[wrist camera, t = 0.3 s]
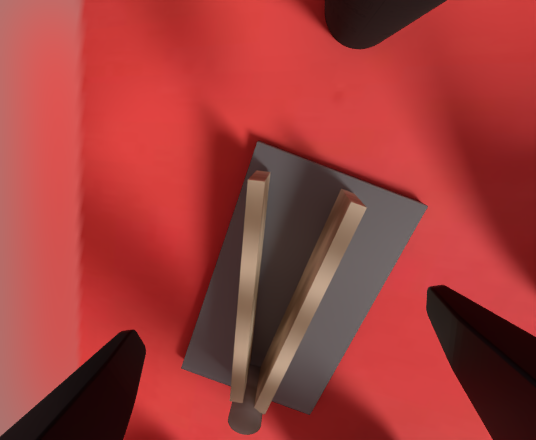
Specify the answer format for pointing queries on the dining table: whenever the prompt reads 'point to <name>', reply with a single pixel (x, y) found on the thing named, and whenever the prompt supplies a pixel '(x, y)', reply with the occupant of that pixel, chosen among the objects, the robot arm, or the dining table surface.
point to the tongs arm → (249, 280)
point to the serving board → (300, 273)
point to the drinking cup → (372, 19)
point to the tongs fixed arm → (298, 313)
